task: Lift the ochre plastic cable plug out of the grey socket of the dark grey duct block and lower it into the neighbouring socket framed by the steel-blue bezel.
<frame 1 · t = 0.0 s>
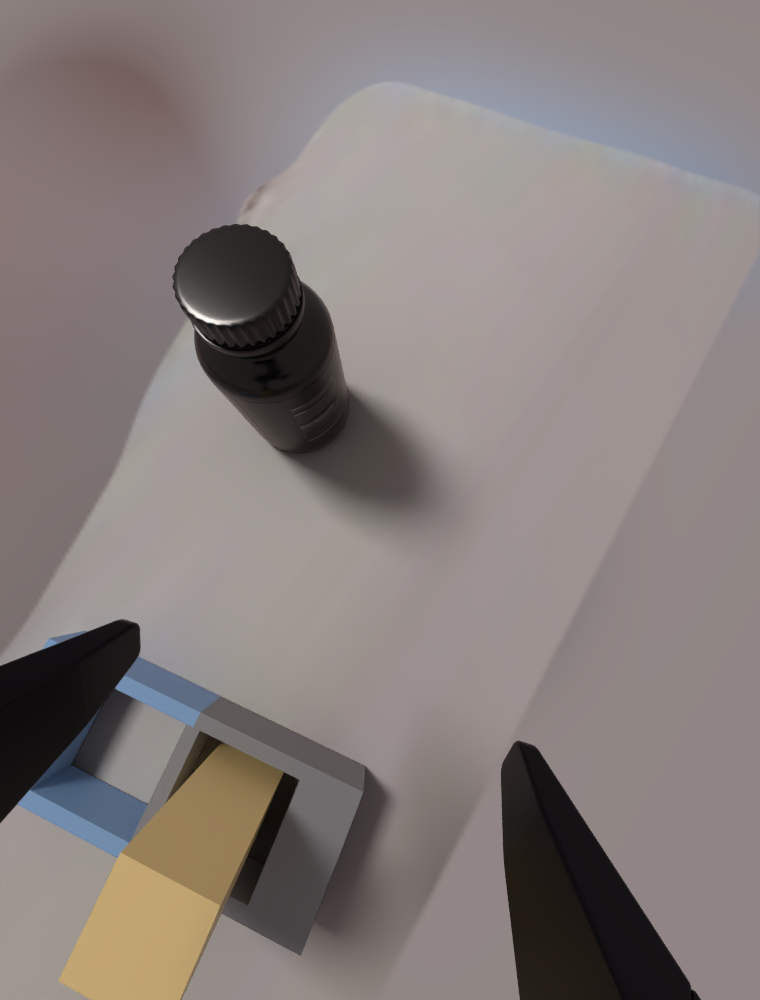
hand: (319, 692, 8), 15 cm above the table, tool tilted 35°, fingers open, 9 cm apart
duct block: (190, 760, 21), on the table
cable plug: (241, 785, 21), resting in duct block
supplement bottle: (302, 411, 26), on the table
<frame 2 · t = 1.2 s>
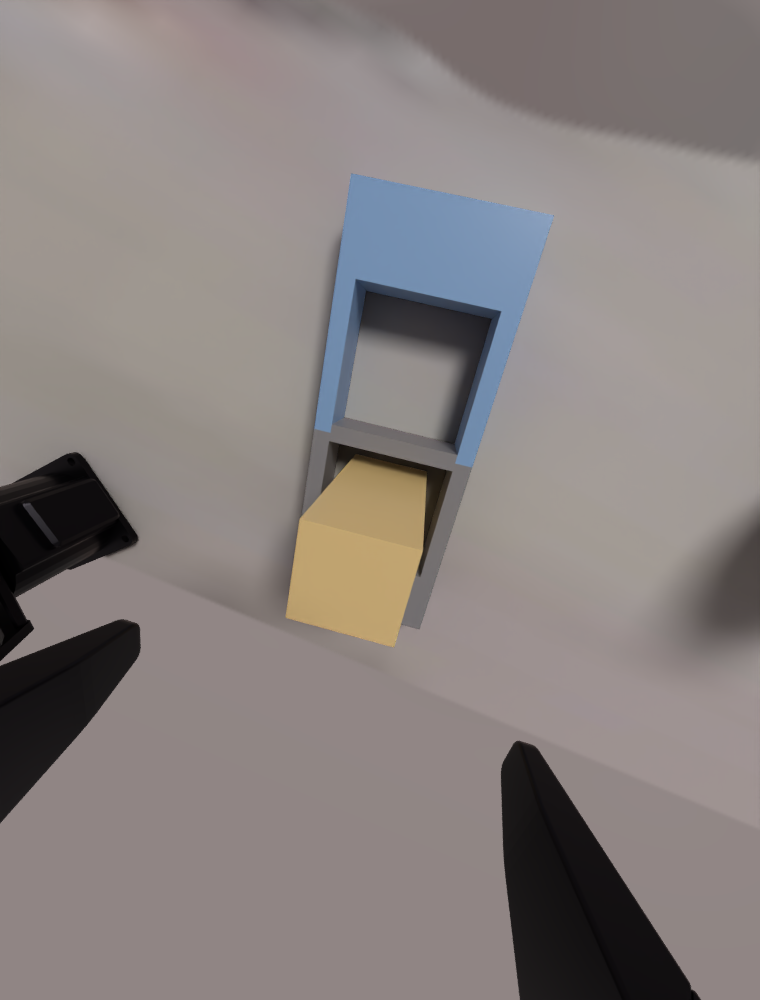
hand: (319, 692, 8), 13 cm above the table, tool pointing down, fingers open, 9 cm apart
duct block: (397, 437, 19), on the table
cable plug: (383, 495, 20), resting in duct block
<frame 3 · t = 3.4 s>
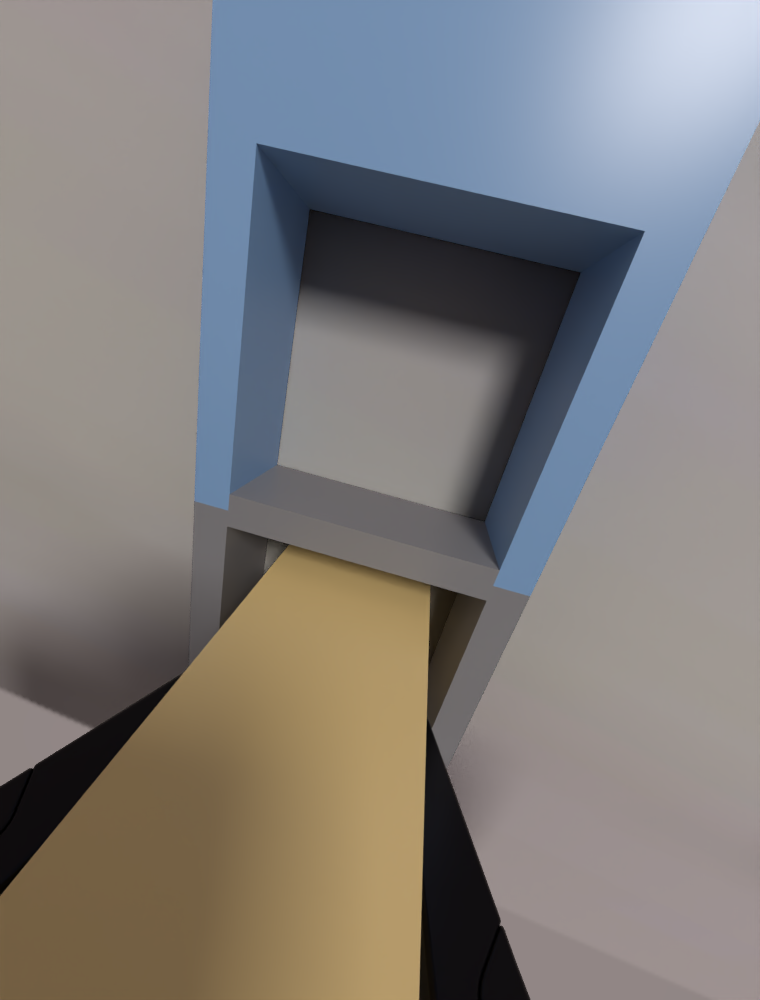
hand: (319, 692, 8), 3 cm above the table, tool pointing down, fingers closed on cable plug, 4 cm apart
duct block: (376, 505, 10), on the table
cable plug: (352, 600, 11), resting in duct block, touching gripper
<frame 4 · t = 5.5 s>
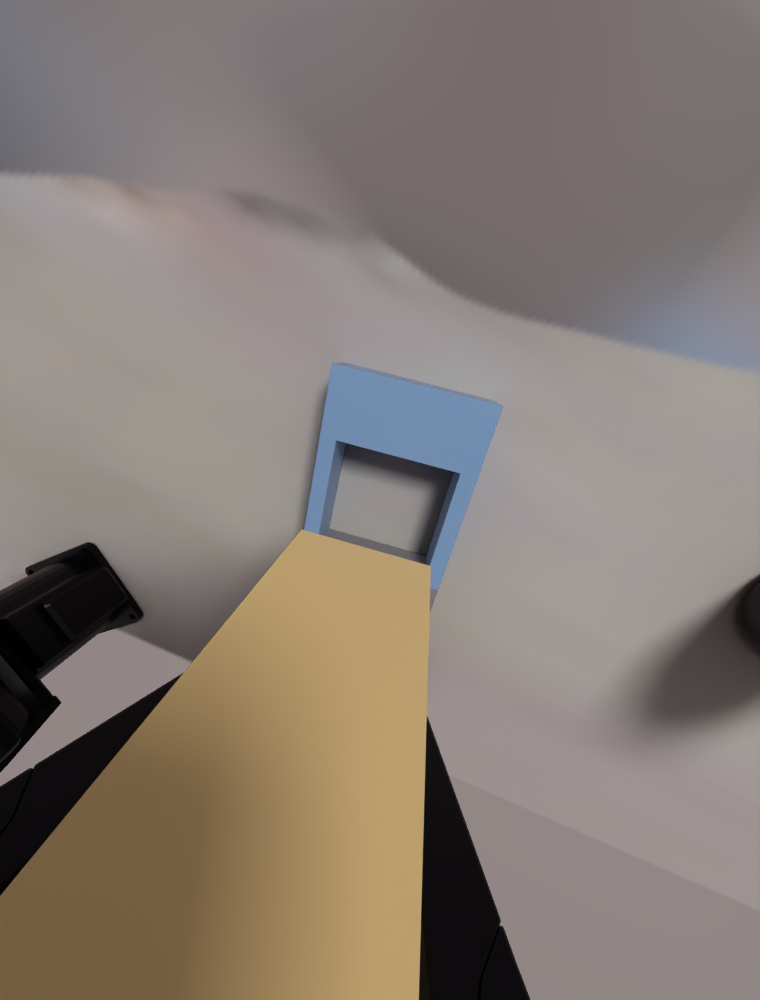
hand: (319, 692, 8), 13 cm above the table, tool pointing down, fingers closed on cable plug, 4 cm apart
duct block: (375, 548, 21), on the table
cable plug: (352, 600, 11), point 9 cm above the table, touching gripper
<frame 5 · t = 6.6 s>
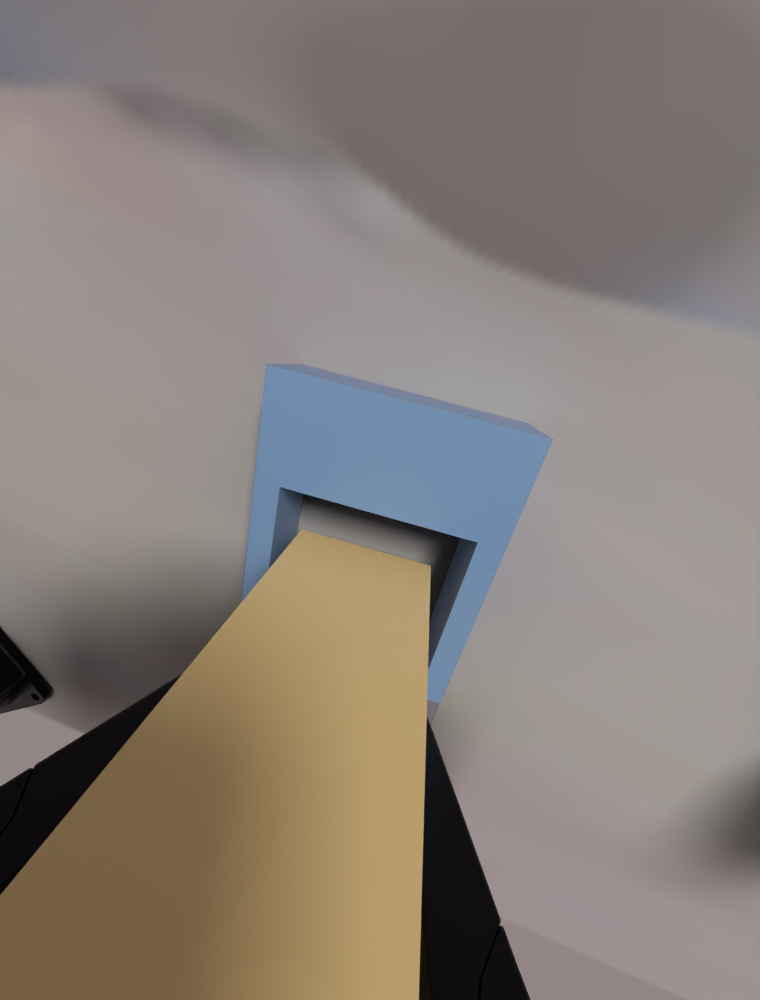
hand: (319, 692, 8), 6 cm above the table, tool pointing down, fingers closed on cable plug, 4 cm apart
duct block: (352, 624, 15), on the table
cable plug: (352, 600, 11), point 3 cm above the table, touching gripper
when the fingers open (5 cm above the table, at t = 7.6 s): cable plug drops 1 cm, resting in duct block.
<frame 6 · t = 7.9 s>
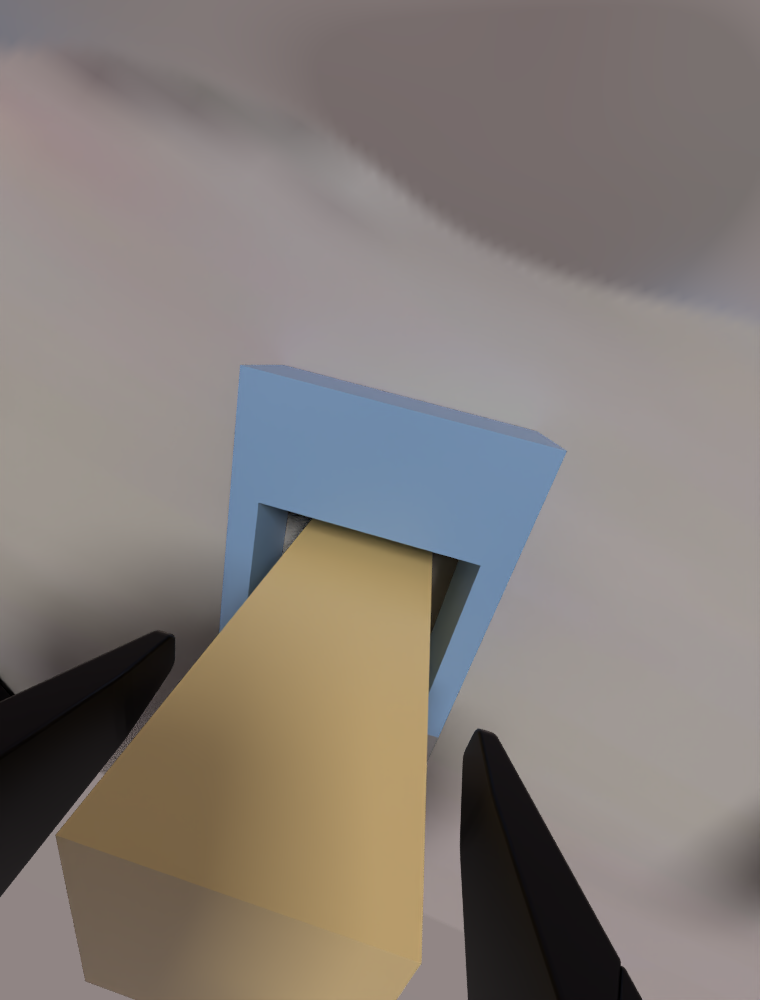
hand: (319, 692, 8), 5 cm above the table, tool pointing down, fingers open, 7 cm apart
duct block: (343, 646, 14), on the table
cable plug: (362, 576, 13), resting in duct block
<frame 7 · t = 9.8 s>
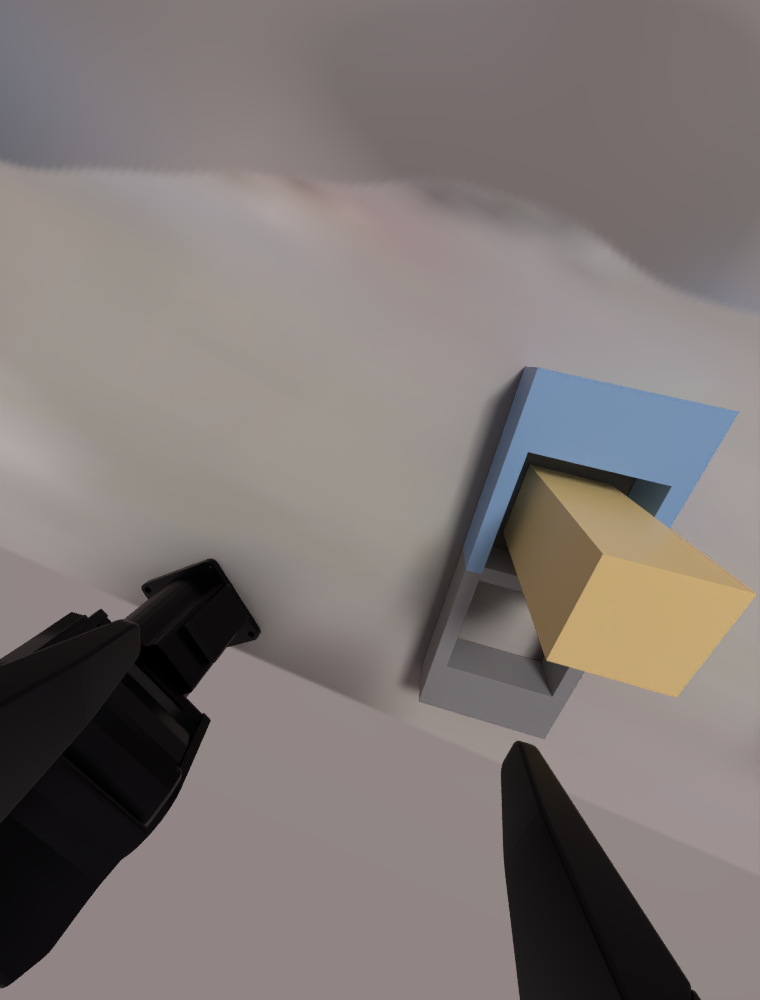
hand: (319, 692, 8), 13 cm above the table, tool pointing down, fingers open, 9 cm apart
duct block: (530, 563, 20), on the table
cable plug: (554, 509, 19), resting in duct block
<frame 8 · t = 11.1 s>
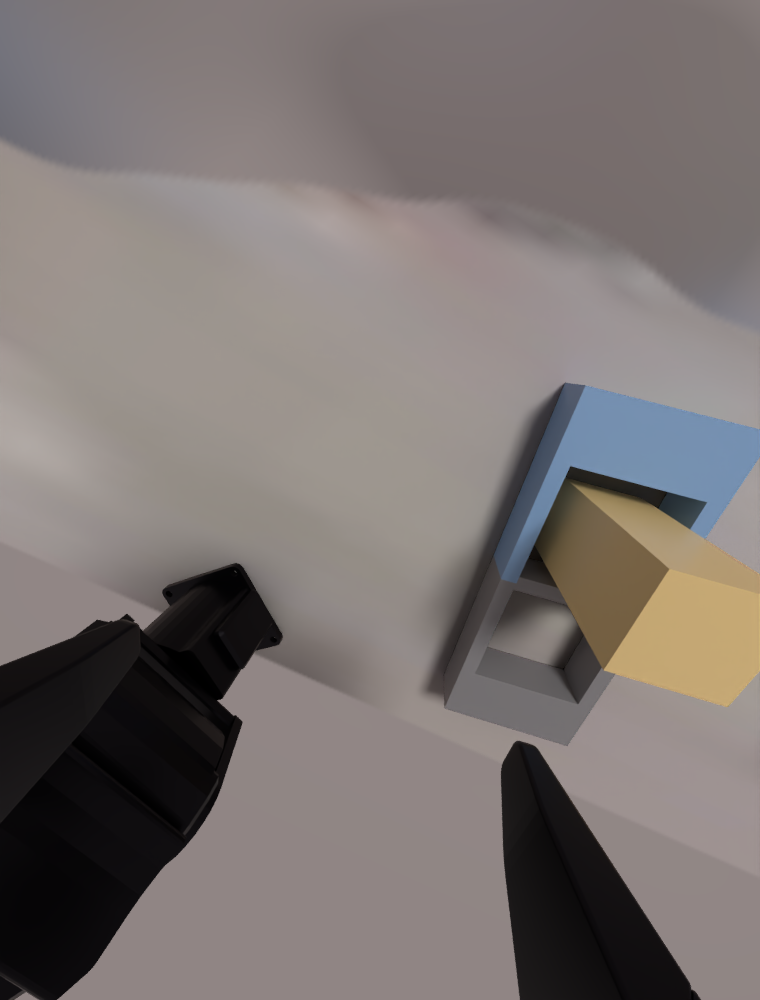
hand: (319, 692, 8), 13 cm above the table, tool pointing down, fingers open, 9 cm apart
duct block: (558, 573, 20), on the table
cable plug: (585, 521, 19), resting in duct block
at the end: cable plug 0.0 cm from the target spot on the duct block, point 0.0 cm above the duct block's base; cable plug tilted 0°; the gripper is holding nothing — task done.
